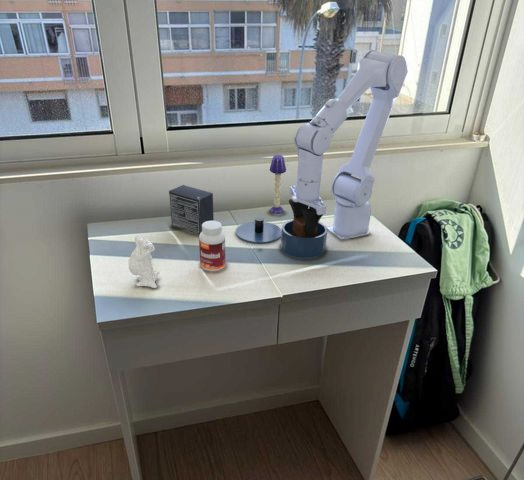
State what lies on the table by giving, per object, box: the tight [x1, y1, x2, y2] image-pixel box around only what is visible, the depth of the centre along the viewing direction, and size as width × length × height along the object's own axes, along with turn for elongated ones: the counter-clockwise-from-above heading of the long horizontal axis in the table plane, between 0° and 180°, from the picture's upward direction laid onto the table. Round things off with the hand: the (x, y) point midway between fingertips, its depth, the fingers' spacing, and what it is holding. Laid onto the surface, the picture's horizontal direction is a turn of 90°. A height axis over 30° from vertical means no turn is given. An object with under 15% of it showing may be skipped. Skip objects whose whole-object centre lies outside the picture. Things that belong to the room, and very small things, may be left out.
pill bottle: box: [198, 220, 226, 272], centre depth 124 cm, size 6×6×11 cm
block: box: [292, 216, 317, 238], centre depth 132 cm, size 4×4×4 cm
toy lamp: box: [269, 154, 287, 215], centre depth 148 cm, size 5×5×17 cm
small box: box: [168, 184, 215, 236], centre depth 140 cm, size 11×6×10 cm, turn 58°
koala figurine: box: [128, 236, 160, 289], centre depth 117 cm, size 8×7×12 cm
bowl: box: [280, 219, 329, 259], centre depth 134 cm, size 12×12×6 cm
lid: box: [235, 216, 282, 245], centre depth 140 cm, size 13×13×5 cm
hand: (304, 230), depth 132 cm, fingers closed on block, 4 cm apart
